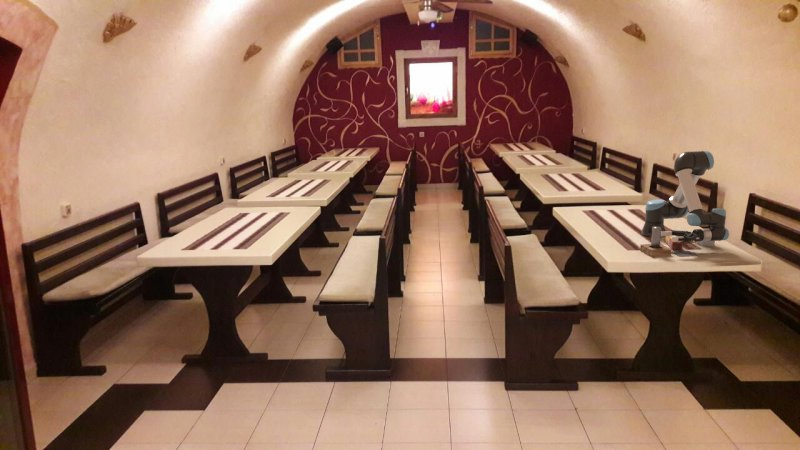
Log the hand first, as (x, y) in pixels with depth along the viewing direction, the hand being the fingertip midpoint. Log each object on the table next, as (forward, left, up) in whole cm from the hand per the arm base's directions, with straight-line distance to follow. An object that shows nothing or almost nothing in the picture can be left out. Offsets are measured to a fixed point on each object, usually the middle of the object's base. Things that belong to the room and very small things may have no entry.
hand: (666, 236), depth 346 cm
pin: (0, -6, -10) cm, 12 cm away
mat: (+5, +9, -10) cm, 14 cm away
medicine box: (-12, +33, -10) cm, 36 cm away
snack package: (-13, +12, -11) cm, 20 cm away
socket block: (0, -6, -10) cm, 12 cm away
